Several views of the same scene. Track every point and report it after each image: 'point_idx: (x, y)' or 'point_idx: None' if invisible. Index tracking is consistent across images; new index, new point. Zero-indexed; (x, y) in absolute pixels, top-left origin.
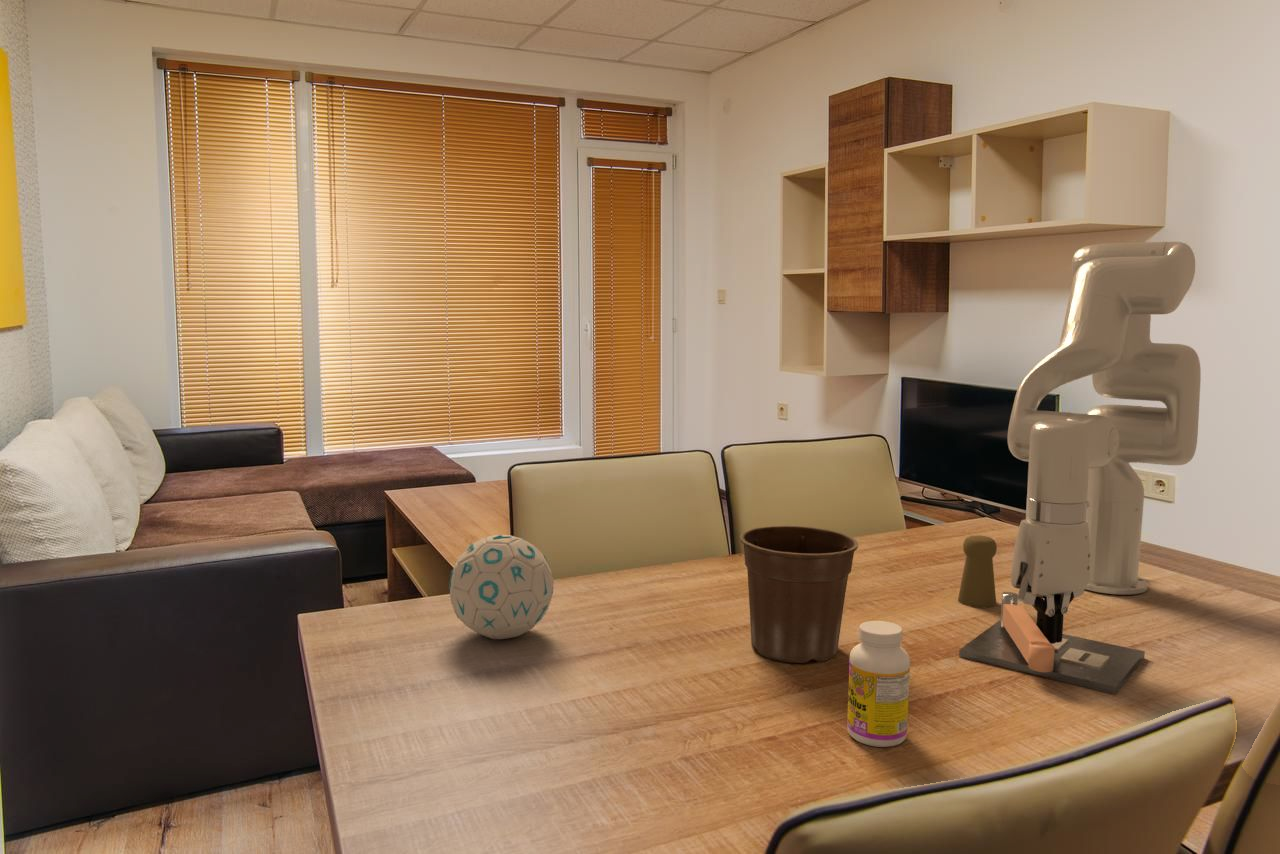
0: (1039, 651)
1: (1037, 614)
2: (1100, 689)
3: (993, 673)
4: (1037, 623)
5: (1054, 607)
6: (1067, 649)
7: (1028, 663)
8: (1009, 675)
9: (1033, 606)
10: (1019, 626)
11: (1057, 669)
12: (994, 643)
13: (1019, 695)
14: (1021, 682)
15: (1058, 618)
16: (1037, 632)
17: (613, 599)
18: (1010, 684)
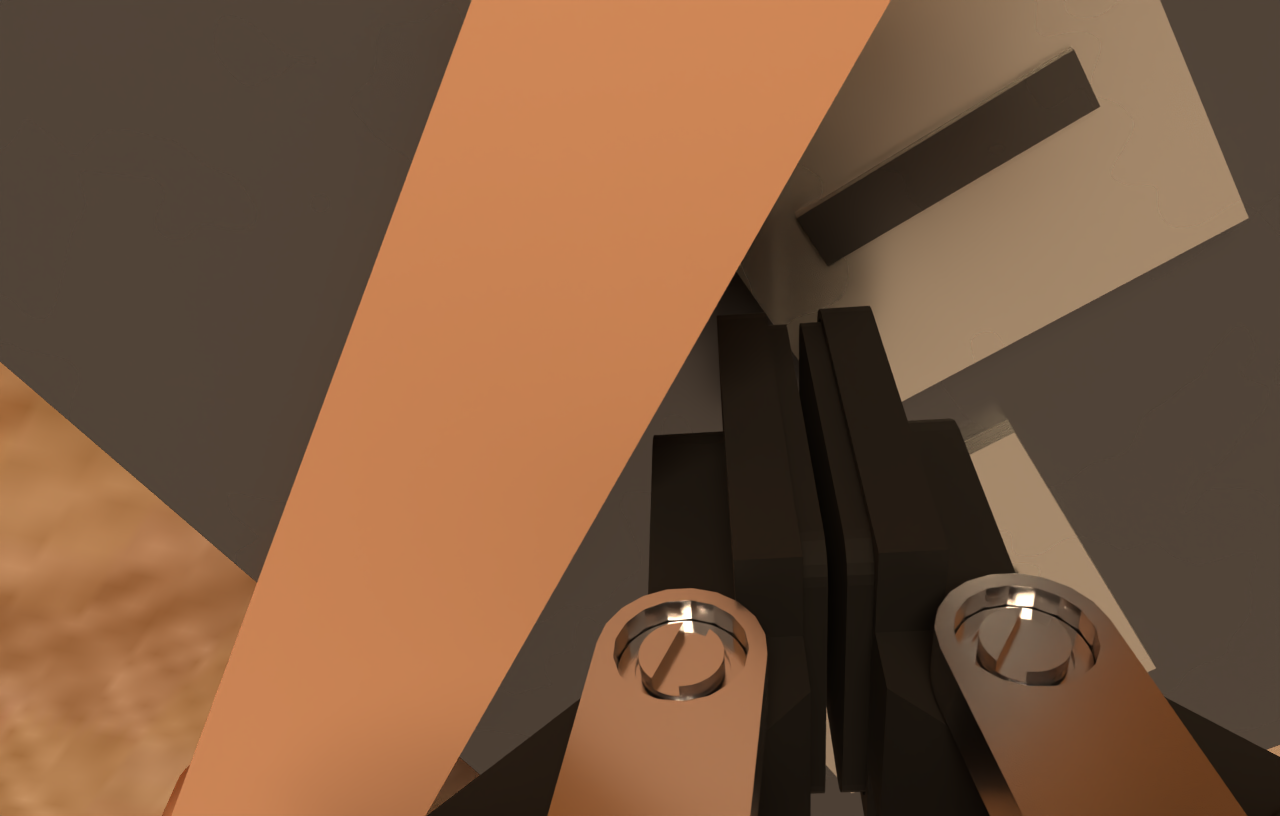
0: None
1: (733, 502)
2: None
3: (3, 502)
4: (650, 516)
5: (904, 803)
6: (985, 406)
7: (166, 806)
8: (133, 563)
9: (521, 753)
10: (259, 606)
11: (508, 716)
12: (252, 7)
13: (53, 807)
14: (170, 675)
15: (838, 774)
16: (375, 796)
17: None
18: (64, 681)
